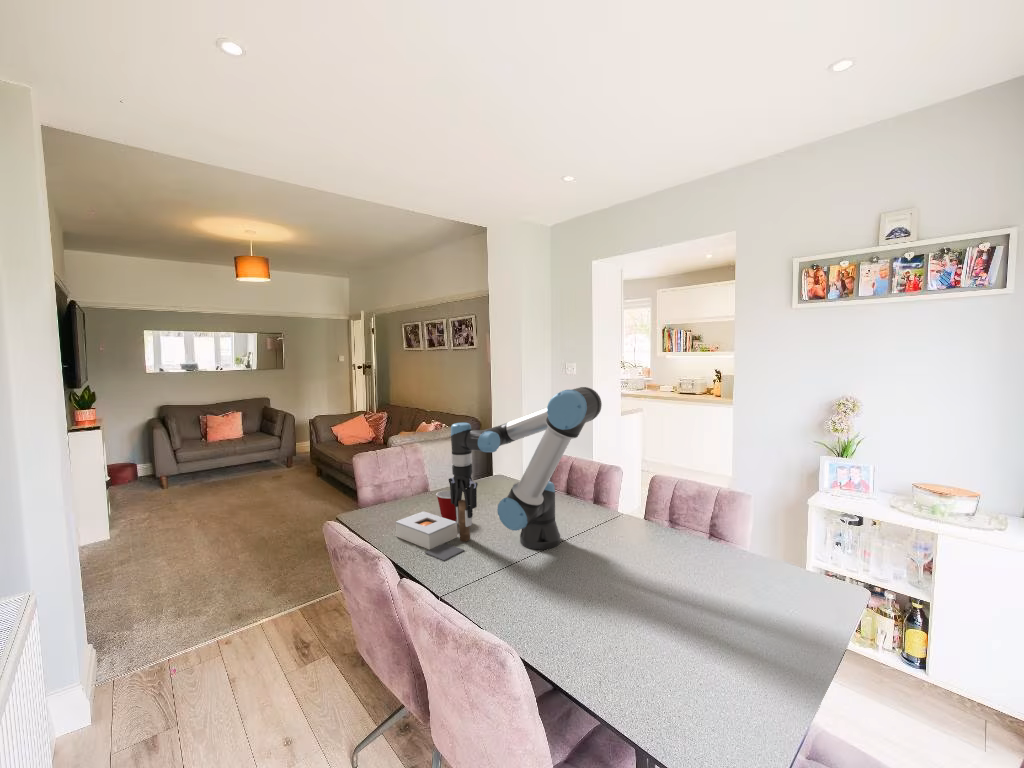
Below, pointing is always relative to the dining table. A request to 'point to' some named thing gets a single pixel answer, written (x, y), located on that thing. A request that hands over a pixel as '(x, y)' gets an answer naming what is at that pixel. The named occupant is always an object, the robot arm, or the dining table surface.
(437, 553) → the pad
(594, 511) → the dining table surface
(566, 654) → the dining table surface
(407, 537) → the box
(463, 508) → the wooden rod
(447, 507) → the plastic cup
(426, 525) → the orange dome button
